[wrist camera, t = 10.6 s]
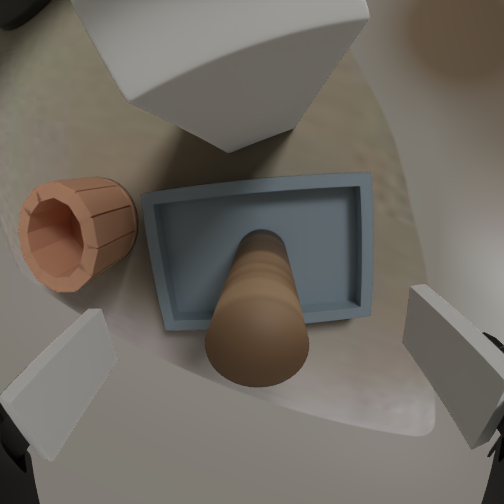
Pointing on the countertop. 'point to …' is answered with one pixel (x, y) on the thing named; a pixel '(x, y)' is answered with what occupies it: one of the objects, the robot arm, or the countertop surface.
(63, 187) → the cup
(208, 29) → the milk
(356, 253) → the tray
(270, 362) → the baguette
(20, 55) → the countertop surface
